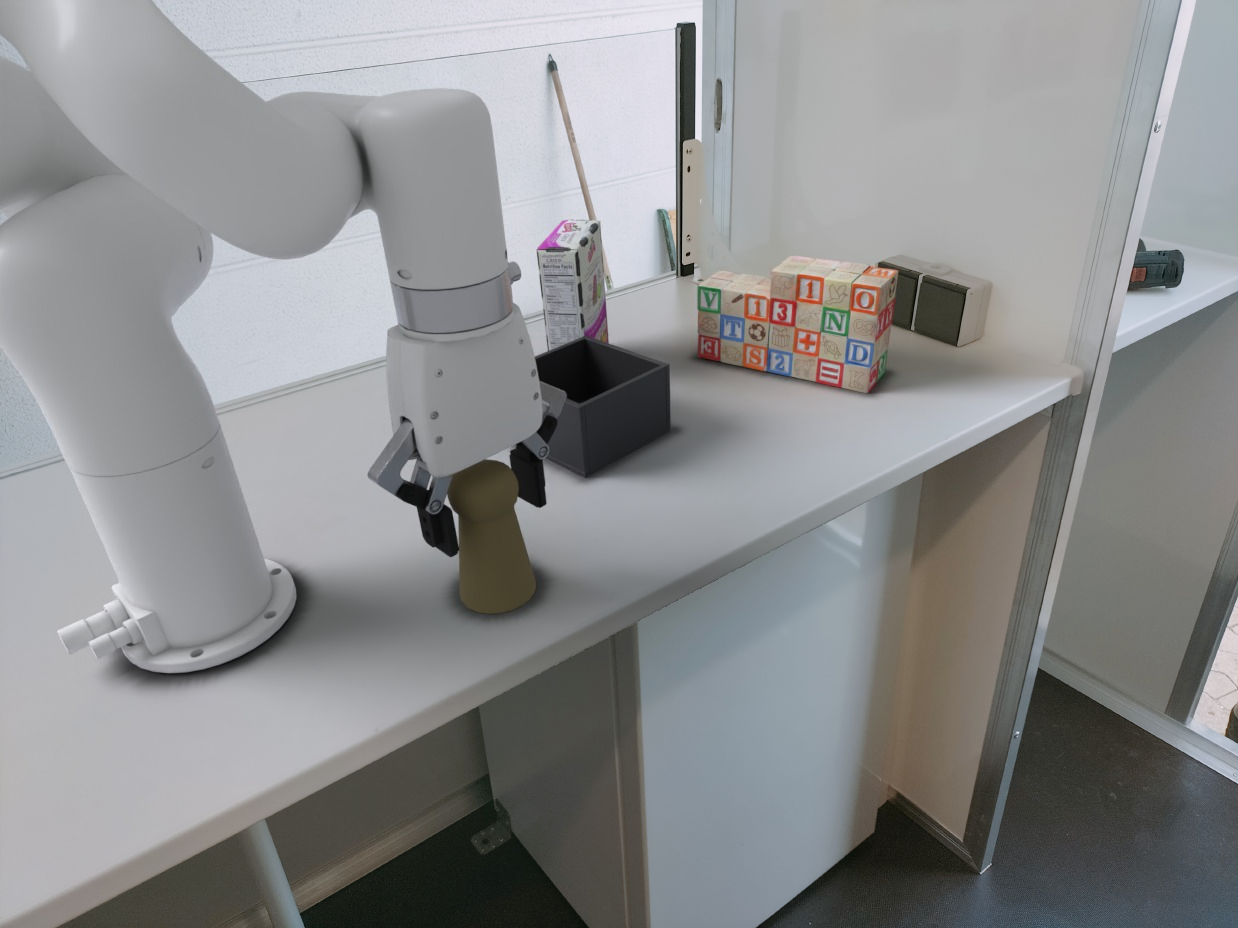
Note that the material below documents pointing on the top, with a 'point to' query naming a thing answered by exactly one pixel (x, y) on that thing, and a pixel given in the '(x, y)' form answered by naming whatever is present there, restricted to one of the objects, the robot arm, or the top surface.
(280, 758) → the top surface
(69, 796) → the top surface
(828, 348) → the stack of blocks
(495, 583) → the cork
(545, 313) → the candy bar box
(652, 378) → the basket
